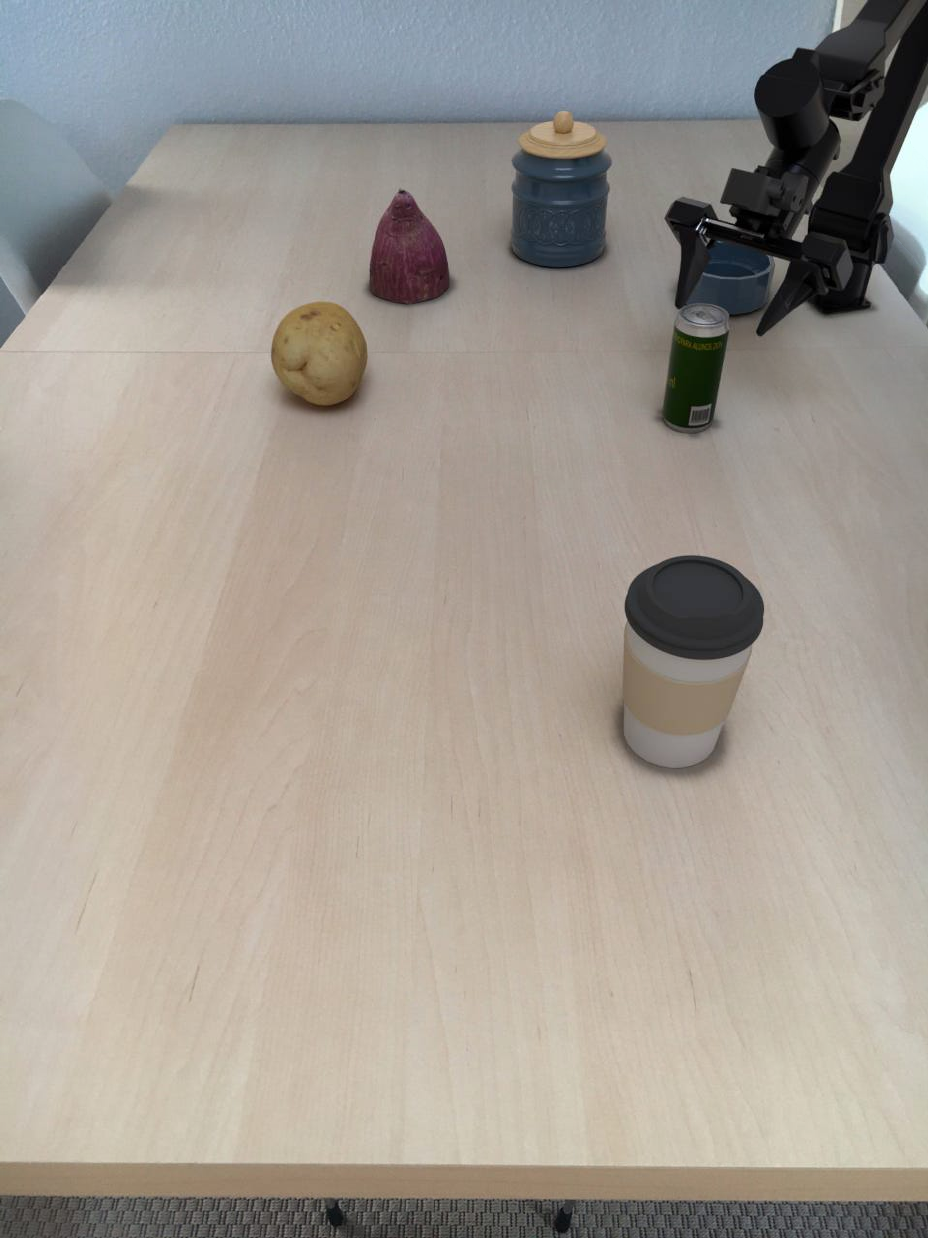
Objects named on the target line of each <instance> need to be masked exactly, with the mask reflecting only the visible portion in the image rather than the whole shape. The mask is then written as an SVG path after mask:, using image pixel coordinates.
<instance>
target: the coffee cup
mask: <svg viewBox="0 0 928 1238" xmlns="http://www.w3.org/2000/svg"><path fill="white" fill-rule="evenodd" d="M764 603H765V602H764V600H763V597H762V595H761V592H760V591H759V590H758V588H757V587H756V585H754V583H753V582H752V581H751V580H750V579H748V578H747V577H746V576H745V575H744V574H743V573H742V572H741V571H740V570H739V569H738V568H736V567H734V566H733V565H731V564H730V563H728V562H725V561H723V560H720V559H717V558H714V557H711V556H705V555H696V554H688V555H677V556H673V557H669V558H667V559H664V560H662V561H660V562H658V563H655V564H654V565H651V566H649V567H648V568H646V569H644V570H643V571H641V572H640V573H639V574H637V575H636V577H635V578H634V579H633V580H632V581H631V583H630V585H629V586H628V589H627V593H626V596H625V599H624V614H625V618H626V623H625V625H624V629H623V657H622V660H623V661H622V698H623V702H624V703H623V704H624V705H623V736H624V739H625V741H626V743H627V745H628V746H629V748H630V749H631V750H632V751H633V752H634V753H635V755H637V756H638V757H639V758H641V759H642V760H644V761H646V762H648V763H651V764H652V765H655V766H658V767H663V768H670V769H683V768H688V767H692V766H695V765H697V764H700V763H701V762H704V761H705V760H706V759H707V758H708V757H709V756H710V755H711V754H712V753H713V751H714V750H715V747H716V746H717V745H716V744H717V742H718V739H719V737H720V733H721V731H722V728H723V726H724V723H725V720H726V719H727V717H728V716H729V714H730V712H731V709H732V707H733V705H734V702H735V699H736V696H737V693H738V691H739V688H740V687H741V683H742V680H743V677H744V675H745V673H746V670H747V667H748V664H749V662H750V660H751V656H752V652H753V644H754V643H756V641H757V639H758V638H759V636H760V635H761V633H762V630H763V627H764V614H765V604H764Z"/></svg>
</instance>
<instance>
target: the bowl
mask: <svg viewBox="0 0 928 1238" xmlns="http://www.w3.org/2000/svg"><path fill="white" fill-rule="evenodd" d="M708 252H709V253H710V255H711V257H712V258H711V260H710V261H709V263H708V265H707V267H706V269H705V270H704V272H703V274H702V276H701V277H700V279H699V281H698V283H697V285H696V286H695V288H694V290H693V292H692V294H691V295H690V297H689V299H688V301H687V302H686V303H685V305H689V304H694V303H706V304H713V305H716V306H719V307H721V308H723V309H725V310H726V311H727V312H728V314H729V315H741V314H747V313H752V312H753V311H756V310H758V309H760V308H763V307H764V305H765V304H766V303H767V302H768V301H769V298H770V293H771V287H772V283H773V278H774V273H775V268H776V262H775V261H776V260H775V257H773V256H769V255H766V254H762V253H759V252H755V251H752V250H748V249H745V248H741V247H738V246H734V245H731V244H727V243H724V242H720V241H717V243H716V245H715V247H713V248H711V249H709V250H708ZM680 264H681V261H680V263H679V265H680ZM679 272H680V268H679V270H678V273H679ZM677 277H678V278H677V280H678V279H679V275H678V276H677ZM677 286H678V283H677V284H676V287H677Z"/></svg>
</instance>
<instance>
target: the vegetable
mask: <svg viewBox="0 0 928 1238" xmlns="http://www.w3.org/2000/svg"><path fill="white" fill-rule="evenodd" d="M369 262H370V263H369V281H368V282H369V291H370V292H371V294H372V295H374V296H376V297H378V298H379V299H384V300H387V301H388V302H389V301H390V302H393V303H398V304H399V303H400V304H404V305H406V304H416V303H420V302H421V303H422V302H424V301H425V302H426V301H429V300H432V299H436V298H438V297H439V296H441V295H442V294H443V293H444V292H445V291H446V290H448V288H449V287H450V282H451V281H450V268H449V262H448V256H447V251H446V248H445V244H444V242H443V239H442V238H441V236H440V234H439V232H438V231H437V229H436V227H435V226H434V225H433V223H432V222H431V221H430V219H429V218H428V216H427V215H425V214H424V212H423V211H422V210H421V208H420V207H419V205H418V204H417V202H416V200H415V197H414V196H413V195H412V194H411V193H410V192H409V191H407V190H405V189H403V188H402V187H398V191H397V192H396V194H395V195H394V196H393V198H392V200H391V202H390V204H389V206H388V207H387V208H386V209H385V211H384V212H383V214H382V216H381V217H380V220H379V222H378V224H377V226H376V230H375V235H374V239H373V244H372V246H371V253H370V261H369Z"/></svg>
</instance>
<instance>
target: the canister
mask: <svg viewBox="0 0 928 1238" xmlns="http://www.w3.org/2000/svg"><path fill="white" fill-rule="evenodd" d="M607 144H608V140H607V138H606V137H605V135H603V134H602V133H600V132H599V131H597V130H596V128H595V127H594V126H592V125H590V124H589V123H585V122H583V121H582V122H581V121H577V120H574V117H573V114H572V113H571V112H570V111H567V110H561V111H558V112H557V113H556V114H555V115H554V118H553V119H552V120H550V121H545V122H541V123H538V124H536V125H534V126H532V127H531V128H530V130H528V131H525V132H524V133H523V134H521V136H520V137H519V139H518V146H519V147H520V149H519V150H517V151H516V152H515V153H514V154H513V156H512V158H511V164H512V167H513V168H514V169H515V177H514V180H513V181H512V182H511V186H510V187H511V192H512V211H511V212H512V219H511V221H512V222H511V223H512V224H511V229H510V242H511V245H512V250H513V253H514V254H515V256H517V257H518V258H519V259H521V260H523V261H525V262H527V263H530V264H532V265H537V266H542V267H548V268H549V267H550V268H568V267H569V268H570V267H577V266H580V265H585V264H587V263H590V262H592V261H594V260H595V259H597V258H598V257H600V256H601V254H602V253H603V251H604V246H605V245H606V240H607V239H606V236H607V230H606V224H607V222H606V221H607V211H608V199H609V193H610V190H611V185H610V183H609V181H608V171H609V169H611V167H612V164H613V159H612V157H611V155H610V154H609V153H608V151H606V150H604V149H606V147H607Z"/></svg>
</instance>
